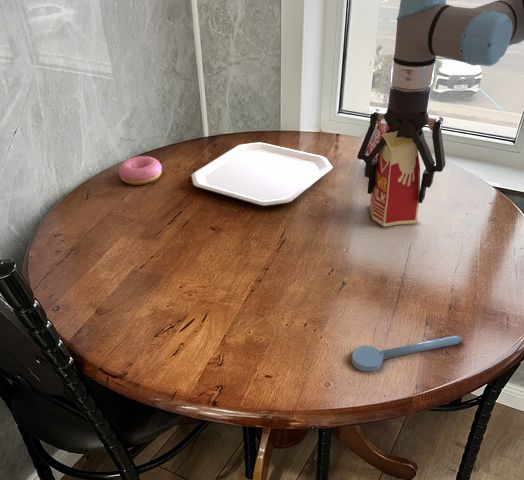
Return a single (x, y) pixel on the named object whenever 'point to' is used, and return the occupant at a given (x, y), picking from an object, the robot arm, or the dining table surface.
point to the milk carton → (396, 182)
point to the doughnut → (140, 170)
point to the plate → (262, 174)
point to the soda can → (378, 136)
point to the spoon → (394, 352)
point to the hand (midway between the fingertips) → (395, 195)
